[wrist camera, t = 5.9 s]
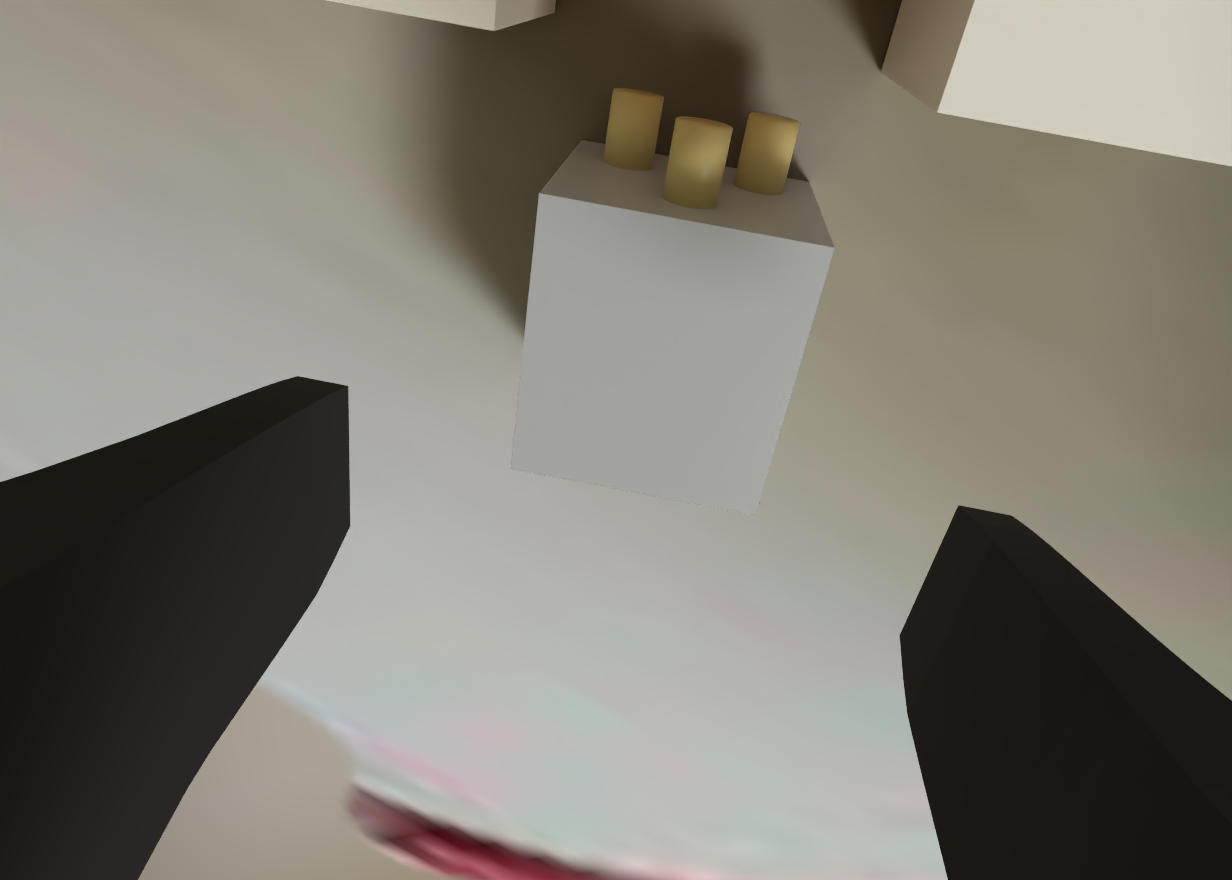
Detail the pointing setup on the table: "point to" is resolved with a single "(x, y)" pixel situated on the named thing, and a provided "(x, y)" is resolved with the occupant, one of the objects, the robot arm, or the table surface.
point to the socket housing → (1027, 63)
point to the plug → (669, 308)
